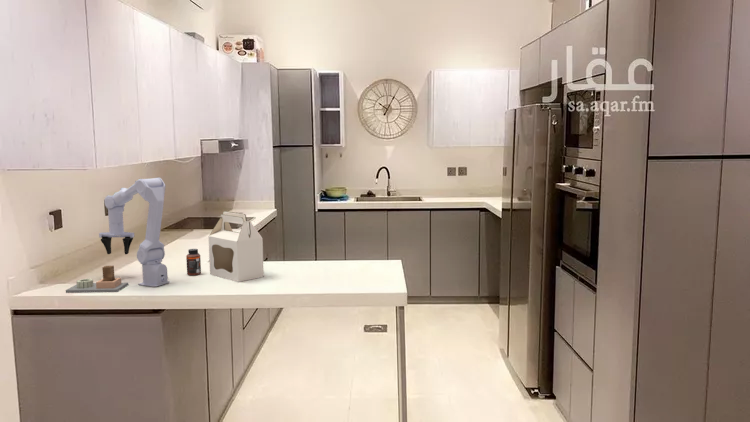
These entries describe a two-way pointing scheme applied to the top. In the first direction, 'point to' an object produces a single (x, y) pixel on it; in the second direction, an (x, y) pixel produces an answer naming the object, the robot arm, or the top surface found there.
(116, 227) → the robot arm
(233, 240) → the gable box
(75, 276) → the top surface
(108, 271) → the square bit
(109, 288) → the socket block
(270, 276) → the top surface
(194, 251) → the supplement bottle
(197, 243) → the top surface
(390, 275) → the top surface
